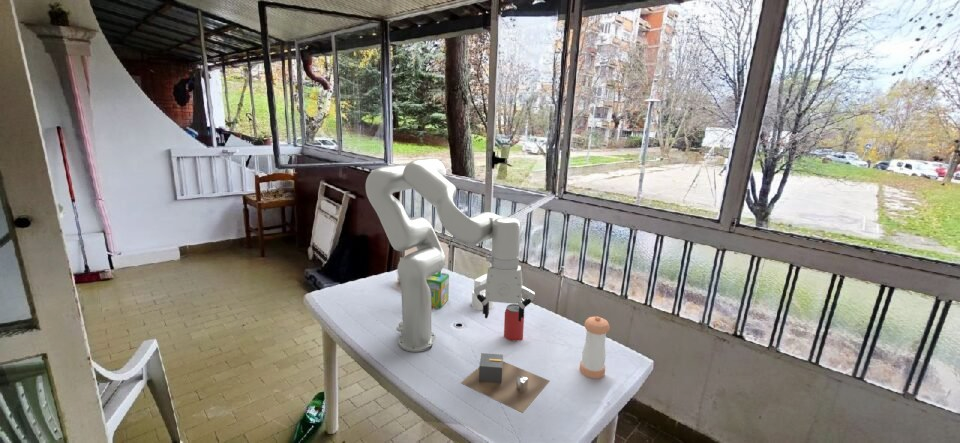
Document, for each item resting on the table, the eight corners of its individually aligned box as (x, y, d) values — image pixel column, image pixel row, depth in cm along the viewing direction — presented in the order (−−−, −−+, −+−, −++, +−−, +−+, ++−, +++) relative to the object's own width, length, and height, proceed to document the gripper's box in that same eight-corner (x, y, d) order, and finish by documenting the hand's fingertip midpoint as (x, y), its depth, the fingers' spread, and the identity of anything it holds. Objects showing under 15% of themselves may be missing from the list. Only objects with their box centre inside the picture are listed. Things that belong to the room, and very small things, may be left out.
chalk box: (419, 305, 164) (419, 270, 160) (428, 296, 172) (428, 263, 169) (441, 309, 161) (440, 274, 158) (449, 299, 170) (449, 265, 166)
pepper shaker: (589, 385, 118) (595, 325, 113) (574, 370, 124) (579, 313, 119) (609, 379, 121) (616, 320, 116) (593, 365, 127) (599, 309, 122)
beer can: (521, 345, 137) (523, 313, 134) (502, 343, 138) (503, 311, 135) (523, 335, 143) (525, 304, 140) (505, 333, 145) (506, 302, 142)
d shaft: (514, 389, 113) (515, 379, 112) (519, 384, 115) (519, 374, 114) (522, 393, 112) (523, 382, 111) (527, 388, 114) (527, 378, 113)
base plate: (460, 387, 116) (460, 382, 115) (491, 360, 128) (491, 356, 128) (522, 417, 105) (522, 412, 104) (549, 385, 117) (550, 380, 117)
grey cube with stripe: (478, 381, 116) (479, 365, 115) (480, 367, 122) (481, 352, 121) (501, 383, 116) (502, 367, 114) (502, 369, 122) (502, 354, 120)
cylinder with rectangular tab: (480, 298, 172) (481, 271, 168) (498, 304, 167) (499, 276, 163) (467, 306, 164) (467, 278, 161) (485, 312, 159) (486, 283, 156)
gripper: (471, 264, 111) (471, 321, 116) (536, 269, 108) (533, 327, 113) (476, 255, 118) (475, 309, 123) (537, 259, 116) (534, 314, 120)
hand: (503, 317), depth 118 cm, fingers open, 9 cm apart
